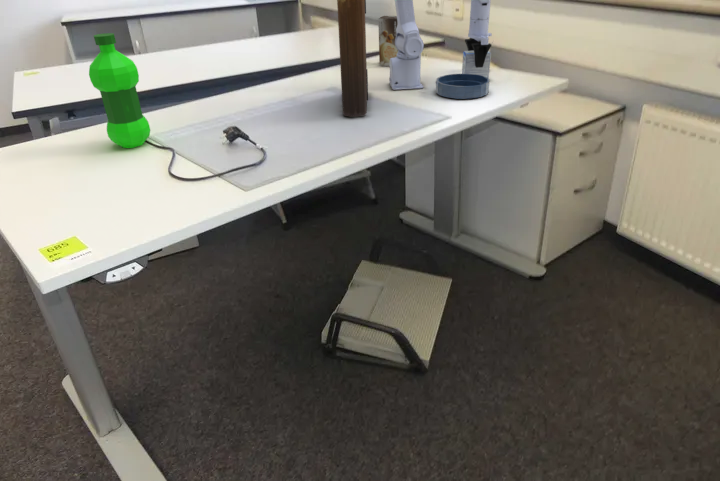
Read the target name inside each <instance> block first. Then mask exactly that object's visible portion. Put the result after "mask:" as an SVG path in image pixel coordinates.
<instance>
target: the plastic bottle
mask: <svg viewBox="0 0 720 481" xmlns="http://www.w3.org/2000/svg"><path fill="white" fill-rule="evenodd" d="M93 38H94V42H95V46H98V47H99V48H98V49H99V52H98V54H97V55H96V56H95V57H94V59H93V60H92V62H91V63H90V65H89V68H88V69H89V70H88V76H89V78H90V80H89V81H90V82H91V84H92V86H93V88H95V89H96V90H98V91H99V92H100V96H101V101H102V104H103V107H104V111H105V114H106V117H107V123H106V133H107V137H108V139H110V141H111V142H112V143H114V144H115V145H117V146H120V147H121V148H123V149H134V148H138V147H141V146H143V145H144V143H146V141H147V140H148V138H150V135H151V127H150V123H149V121H148V120H147V118H146V117H145V116H144V114H143V111H142V107H141V103H140V99H139V95H138V91H137V87H136V86H137V85H138V83H139V82H140V77H139V76H140V74H139V70H138V67H137V65H136V64H135V62H134V60H132V59H131V58H129V57H128V56H127V55H125V54H123V53H121V52H120V51H118V50H117V49H116V47H115V44H117V41H116V36H115V33H114V32H113V33H112V32H107V33H106V32H105V33H103V32H102V33H97V34H94V35H93Z"/></svg>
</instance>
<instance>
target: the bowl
mask: <svg viewBox="0 0 720 481" xmlns="http://www.w3.org/2000/svg"><path fill="white" fill-rule="evenodd" d="M489 89H490V78H489V79H488V78H487V77H484V76H481V75H476V74H462V73H449V74H444V75H441V76H439V77H437V78H436V80H435V93H436V94H437V95H439V96H441V97H444V98H449V99H456V100H471V99H478V98H481V97H483V96H486V95H488V94H489V91H490V90H489Z"/></svg>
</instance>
